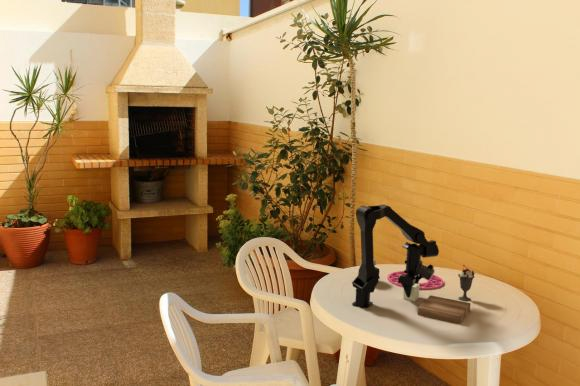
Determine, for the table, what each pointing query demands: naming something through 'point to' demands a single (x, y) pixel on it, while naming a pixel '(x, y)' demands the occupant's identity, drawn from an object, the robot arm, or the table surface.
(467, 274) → the sundae
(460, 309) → the walnut base
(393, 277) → the trivet
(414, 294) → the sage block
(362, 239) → the robot arm
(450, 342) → the table surface
